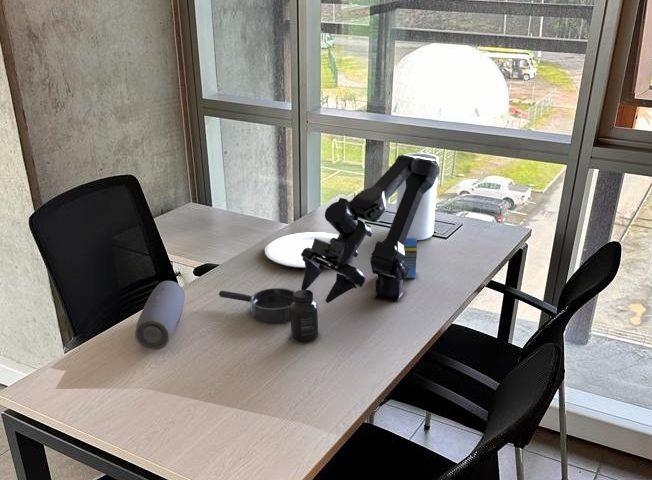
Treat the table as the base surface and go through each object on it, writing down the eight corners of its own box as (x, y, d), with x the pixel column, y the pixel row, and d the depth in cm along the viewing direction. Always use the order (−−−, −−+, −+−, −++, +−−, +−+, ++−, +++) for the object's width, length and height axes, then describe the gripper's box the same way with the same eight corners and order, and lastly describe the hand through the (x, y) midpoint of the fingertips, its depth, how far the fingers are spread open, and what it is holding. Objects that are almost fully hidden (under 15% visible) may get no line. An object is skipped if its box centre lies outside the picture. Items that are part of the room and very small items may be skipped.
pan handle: (256, 300, 194) (256, 294, 193) (253, 303, 193) (253, 297, 192) (221, 295, 198) (220, 289, 197) (217, 297, 196) (217, 291, 195)
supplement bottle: (322, 332, 182) (321, 289, 176) (313, 345, 177) (312, 301, 170) (296, 329, 184) (294, 286, 178) (287, 341, 179) (285, 297, 172)
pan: (307, 306, 195) (307, 291, 193) (288, 327, 185) (287, 312, 183) (264, 299, 200) (263, 285, 197) (243, 319, 190) (242, 305, 187)
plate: (373, 247, 230) (373, 241, 229) (327, 280, 209) (326, 274, 208) (297, 231, 244) (297, 226, 243) (246, 261, 223) (245, 255, 222)
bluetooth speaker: (155, 312, 194) (149, 278, 189) (189, 312, 194) (185, 278, 189) (135, 355, 175) (129, 318, 170) (173, 354, 175) (168, 317, 169)
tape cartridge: (415, 273, 212) (417, 233, 205) (415, 278, 209) (418, 238, 202) (384, 272, 213) (386, 233, 206) (384, 278, 209) (386, 238, 203)
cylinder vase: (391, 228, 244) (394, 154, 230) (427, 226, 245) (432, 152, 231) (399, 242, 233) (403, 164, 220) (437, 239, 234) (443, 162, 221)
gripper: (305, 216, 177) (271, 269, 177) (357, 235, 165) (321, 293, 164) (329, 238, 185) (297, 289, 185) (380, 259, 173) (346, 314, 173)
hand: (314, 296), depth 177 cm, fingers open, 9 cm apart
